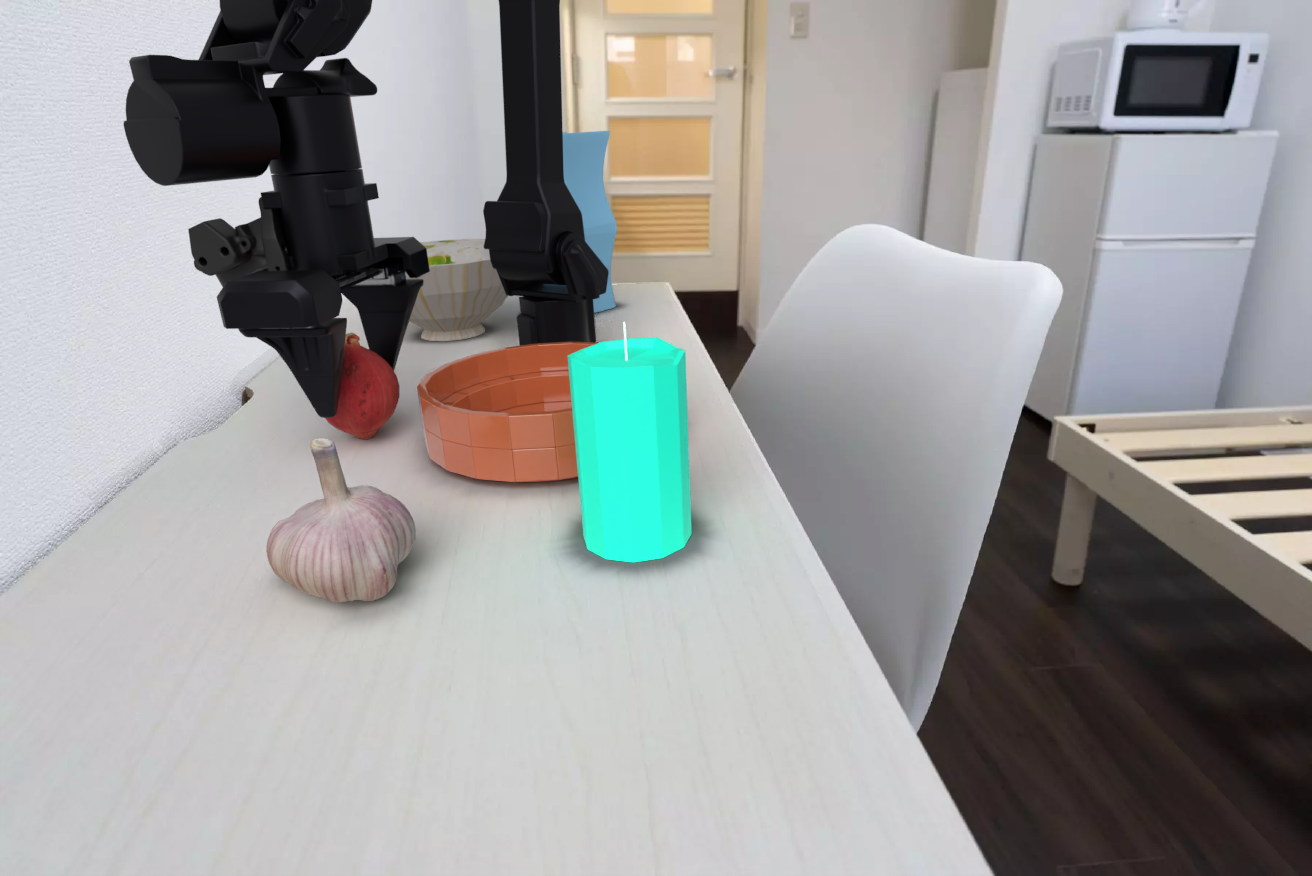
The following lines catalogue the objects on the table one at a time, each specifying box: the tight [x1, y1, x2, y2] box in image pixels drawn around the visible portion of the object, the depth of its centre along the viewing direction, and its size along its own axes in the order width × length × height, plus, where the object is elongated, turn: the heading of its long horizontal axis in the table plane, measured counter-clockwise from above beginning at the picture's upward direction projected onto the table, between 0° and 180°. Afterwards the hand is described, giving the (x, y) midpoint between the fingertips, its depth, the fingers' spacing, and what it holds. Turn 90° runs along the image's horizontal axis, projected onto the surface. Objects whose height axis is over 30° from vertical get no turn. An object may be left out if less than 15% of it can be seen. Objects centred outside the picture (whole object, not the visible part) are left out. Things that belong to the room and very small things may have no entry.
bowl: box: [405, 238, 509, 342], centre depth 90 cm, size 19×19×10 cm
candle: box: [567, 321, 693, 563], centre depth 44 cm, size 6×6×12 cm
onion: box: [324, 332, 400, 440], centre depth 61 cm, size 6×6×8 cm
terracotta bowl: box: [416, 341, 598, 483], centre depth 59 cm, size 17×17×5 cm
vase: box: [563, 130, 618, 314], centre depth 97 cm, size 8×8×20 cm
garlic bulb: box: [266, 437, 417, 603], centre depth 41 cm, size 8×7×8 cm
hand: (358, 395), depth 61 cm, fingers open, 9 cm apart
